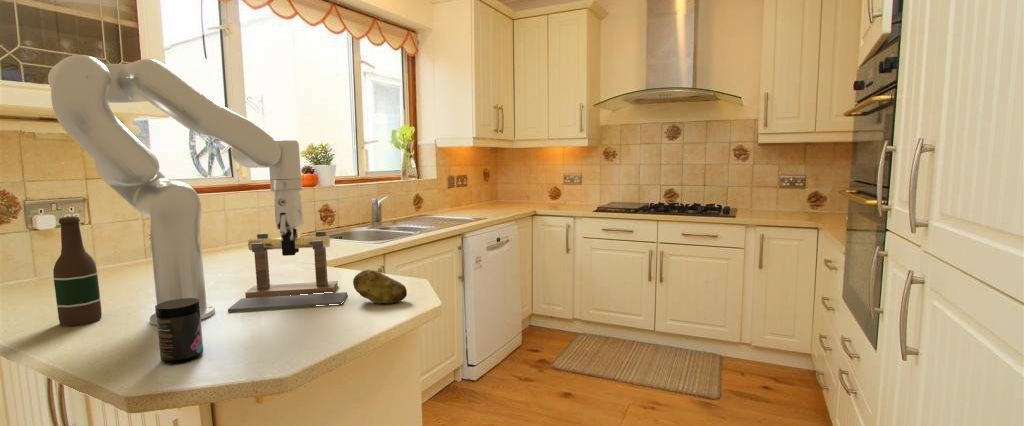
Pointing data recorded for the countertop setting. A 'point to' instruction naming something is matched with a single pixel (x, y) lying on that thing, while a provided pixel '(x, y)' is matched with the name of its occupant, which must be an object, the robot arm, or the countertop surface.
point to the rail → (299, 241)
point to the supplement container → (179, 330)
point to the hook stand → (289, 289)
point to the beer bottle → (75, 279)
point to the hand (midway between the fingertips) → (290, 253)
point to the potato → (379, 287)
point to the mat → (287, 301)
